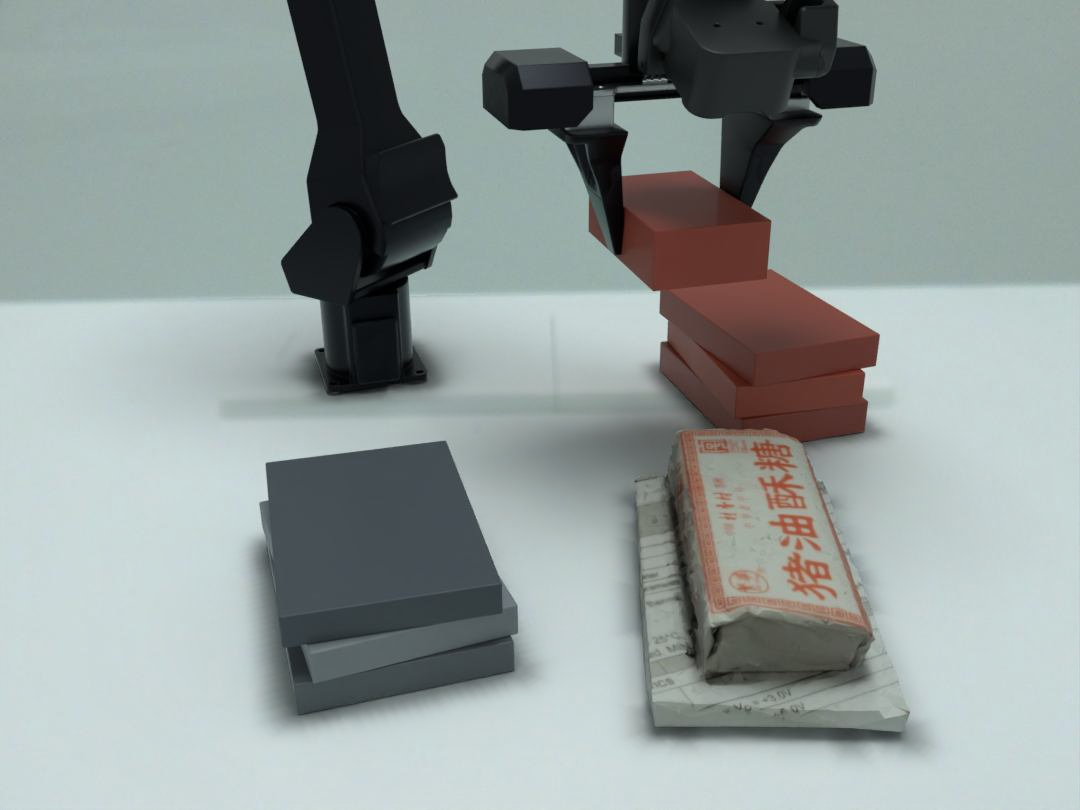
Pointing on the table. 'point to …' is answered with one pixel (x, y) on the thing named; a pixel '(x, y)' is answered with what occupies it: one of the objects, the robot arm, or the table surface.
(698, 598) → the packaged product
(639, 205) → the rust red block
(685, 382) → the rust book pile
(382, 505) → the grey book pile
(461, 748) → the table surface
